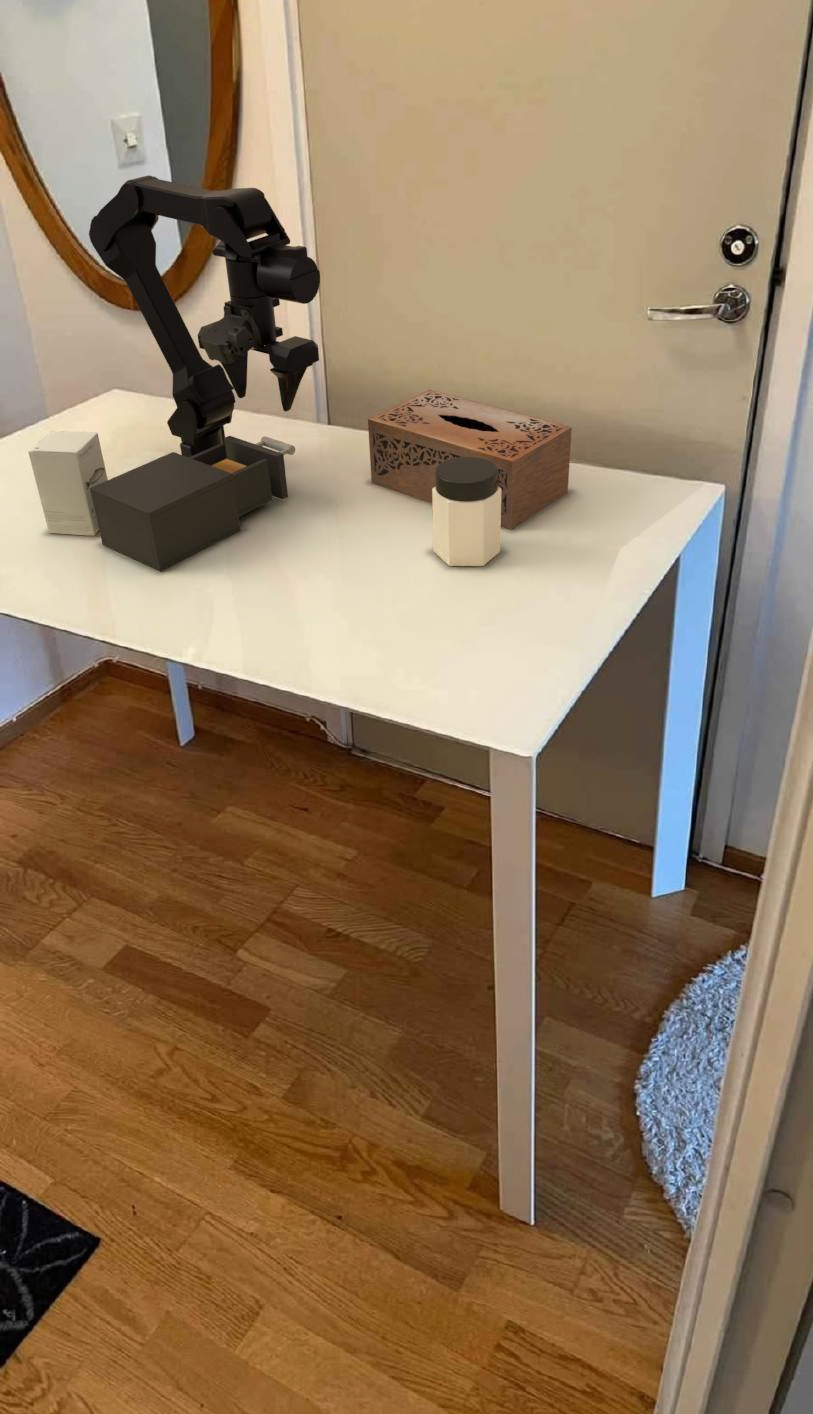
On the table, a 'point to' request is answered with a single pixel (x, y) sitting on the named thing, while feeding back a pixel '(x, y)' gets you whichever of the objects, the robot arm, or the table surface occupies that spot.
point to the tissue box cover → (470, 450)
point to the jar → (466, 511)
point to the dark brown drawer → (253, 469)
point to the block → (229, 466)
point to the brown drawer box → (166, 510)
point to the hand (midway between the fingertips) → (264, 403)
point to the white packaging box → (68, 480)
